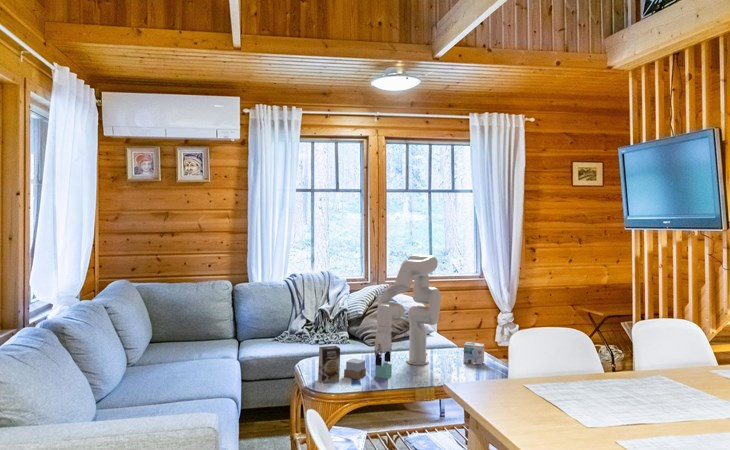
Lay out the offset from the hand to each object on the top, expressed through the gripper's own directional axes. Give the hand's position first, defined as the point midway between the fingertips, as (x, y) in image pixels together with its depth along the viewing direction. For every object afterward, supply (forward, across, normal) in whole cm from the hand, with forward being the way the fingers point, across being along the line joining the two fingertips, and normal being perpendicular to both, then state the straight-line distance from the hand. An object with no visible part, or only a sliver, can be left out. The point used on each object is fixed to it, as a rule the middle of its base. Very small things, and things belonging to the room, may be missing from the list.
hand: (382, 363), depth 245 cm
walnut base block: (+7, +7, -12) cm, 16 cm away
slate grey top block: (+3, +7, -12) cm, 14 cm away
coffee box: (+7, +20, -19) cm, 29 cm away
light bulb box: (+5, -52, +31) cm, 61 cm away
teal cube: (+7, -1, 0) cm, 7 cm away
